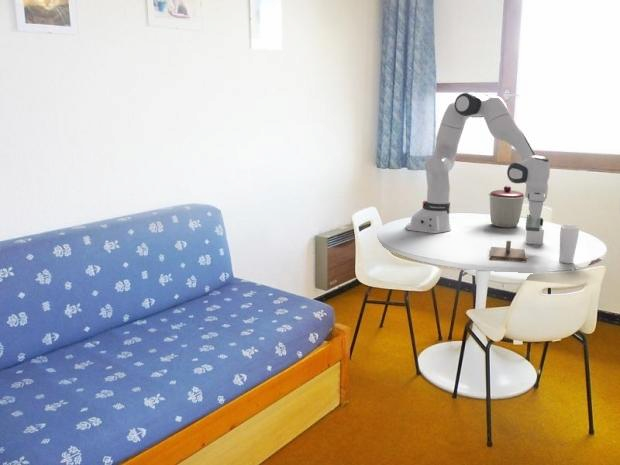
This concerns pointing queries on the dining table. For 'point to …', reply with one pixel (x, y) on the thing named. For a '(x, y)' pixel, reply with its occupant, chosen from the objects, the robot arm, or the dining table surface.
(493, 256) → the pin board
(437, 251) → the dining table surface
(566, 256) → the drinking glass
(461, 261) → the dining table surface
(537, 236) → the medicine bottle
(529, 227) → the sleeve
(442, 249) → the dining table surface
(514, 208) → the canister
